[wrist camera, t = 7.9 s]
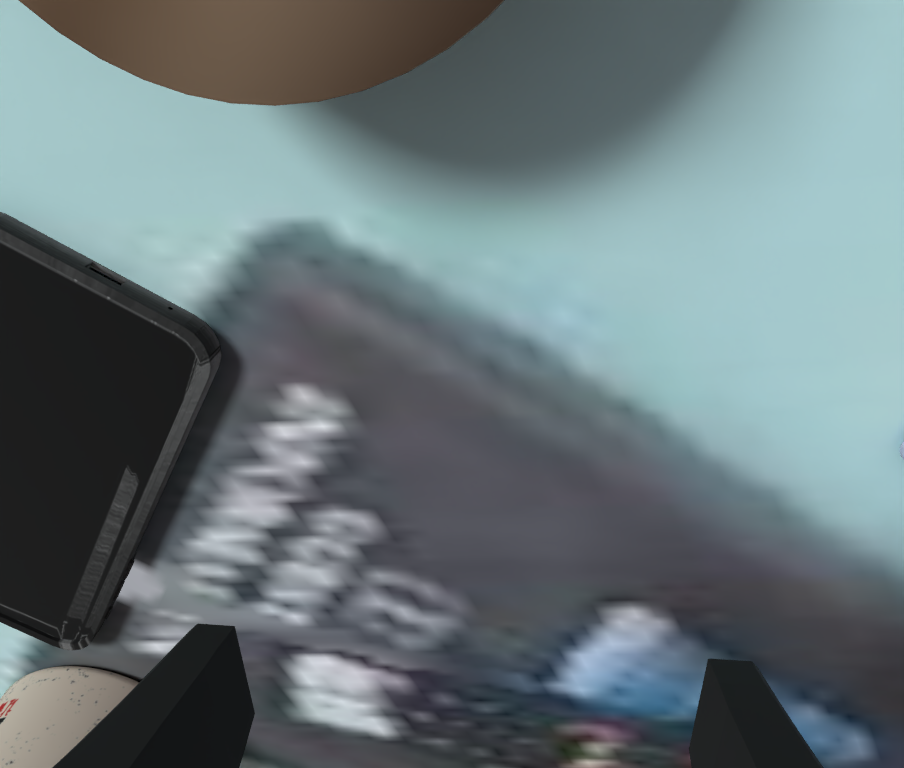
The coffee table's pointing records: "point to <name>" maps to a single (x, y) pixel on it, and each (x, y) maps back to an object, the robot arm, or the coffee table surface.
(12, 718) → the teacup with lid
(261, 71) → the walnut lid
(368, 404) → the coffee table surface
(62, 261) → the phone
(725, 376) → the coffee table surface
